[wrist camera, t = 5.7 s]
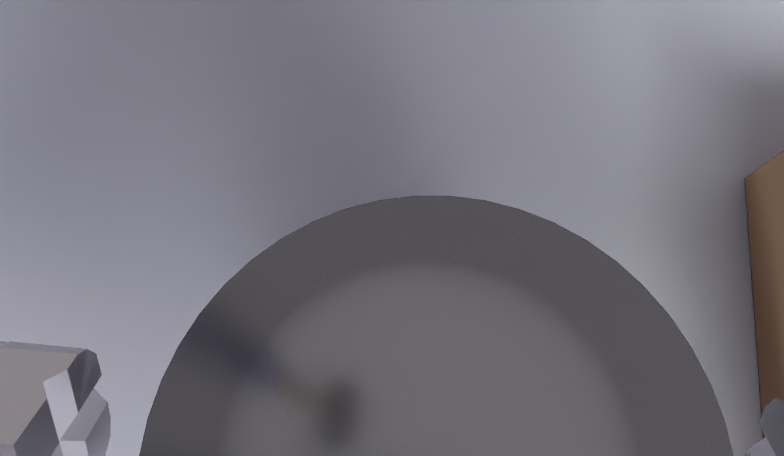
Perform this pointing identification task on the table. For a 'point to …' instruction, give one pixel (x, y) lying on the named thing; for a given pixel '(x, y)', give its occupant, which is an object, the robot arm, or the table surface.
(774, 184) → the hole plate
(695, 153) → the table surface
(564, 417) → the pin
